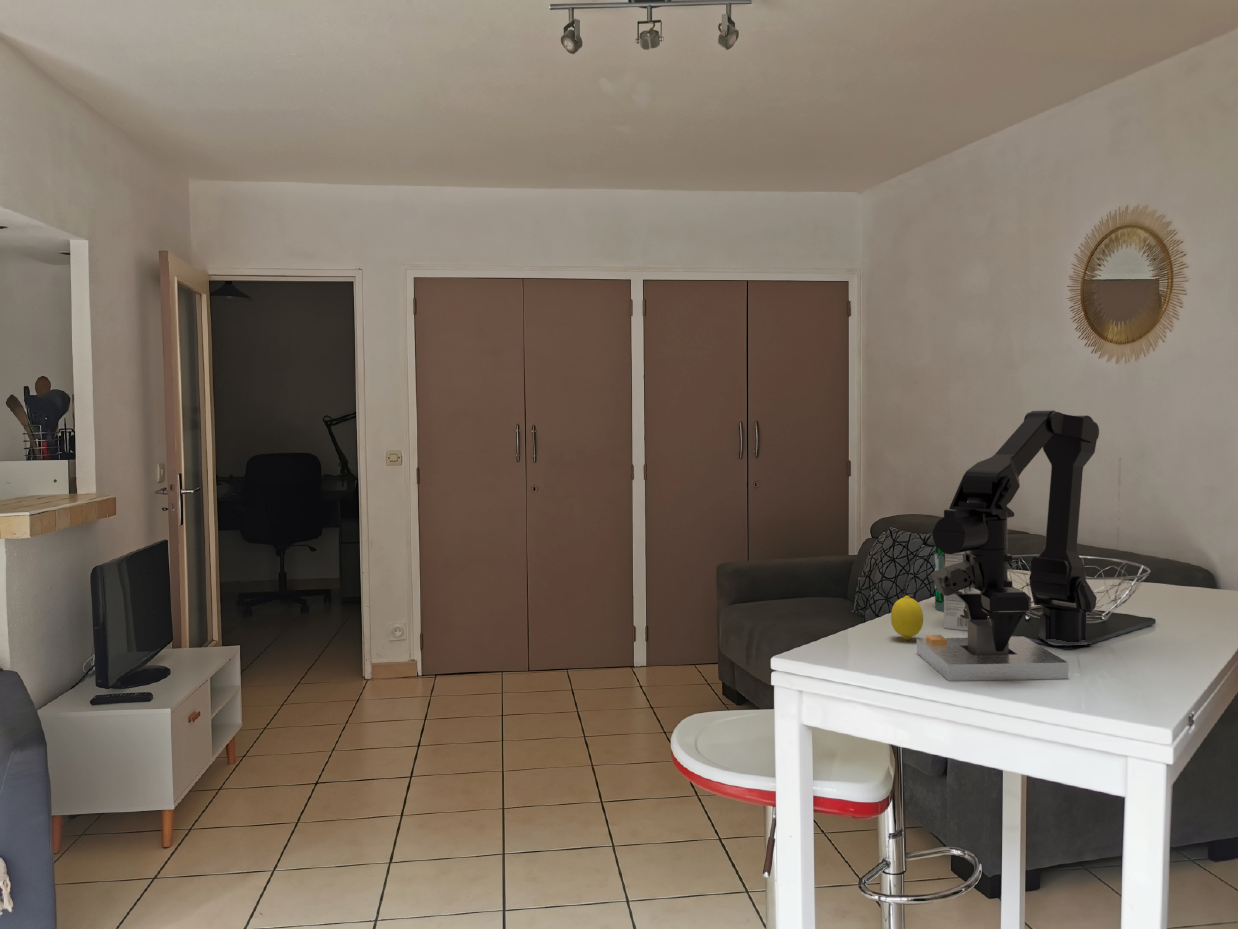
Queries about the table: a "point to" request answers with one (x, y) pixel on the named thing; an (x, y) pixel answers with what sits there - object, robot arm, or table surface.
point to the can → (938, 595)
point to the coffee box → (954, 601)
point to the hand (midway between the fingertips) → (988, 643)
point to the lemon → (907, 617)
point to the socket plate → (990, 660)
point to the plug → (982, 639)
